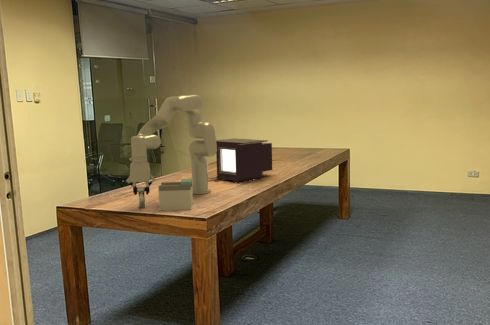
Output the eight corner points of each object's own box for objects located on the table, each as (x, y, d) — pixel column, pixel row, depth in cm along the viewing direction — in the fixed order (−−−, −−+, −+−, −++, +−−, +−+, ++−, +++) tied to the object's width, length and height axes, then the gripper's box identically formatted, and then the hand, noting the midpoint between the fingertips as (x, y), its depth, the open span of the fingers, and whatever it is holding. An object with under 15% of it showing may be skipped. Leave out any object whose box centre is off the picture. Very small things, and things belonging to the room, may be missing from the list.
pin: (138, 207, 241) (137, 186, 240) (148, 206, 241) (146, 186, 240) (136, 209, 236) (135, 188, 235) (146, 209, 236) (145, 188, 235)
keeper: (182, 181, 241) (182, 179, 241) (191, 181, 241) (191, 178, 241) (180, 184, 232) (180, 182, 232) (190, 184, 233) (190, 181, 232)
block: (163, 205, 244) (161, 182, 242) (193, 204, 245) (192, 181, 243) (159, 210, 232) (158, 186, 231) (191, 209, 233) (190, 185, 231)
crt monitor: (244, 184, 299) (243, 143, 296) (210, 178, 324) (209, 140, 321) (280, 177, 323) (279, 139, 320) (246, 172, 348) (245, 137, 345)
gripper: (121, 161, 232) (123, 196, 234) (155, 160, 232) (157, 195, 234) (124, 159, 239) (126, 193, 241) (157, 158, 240) (159, 192, 242)
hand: (141, 194), depth 238 cm, fingers open, 5 cm apart
